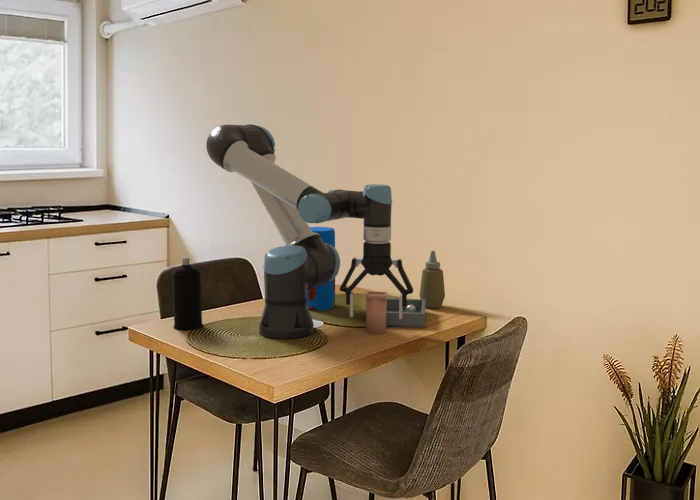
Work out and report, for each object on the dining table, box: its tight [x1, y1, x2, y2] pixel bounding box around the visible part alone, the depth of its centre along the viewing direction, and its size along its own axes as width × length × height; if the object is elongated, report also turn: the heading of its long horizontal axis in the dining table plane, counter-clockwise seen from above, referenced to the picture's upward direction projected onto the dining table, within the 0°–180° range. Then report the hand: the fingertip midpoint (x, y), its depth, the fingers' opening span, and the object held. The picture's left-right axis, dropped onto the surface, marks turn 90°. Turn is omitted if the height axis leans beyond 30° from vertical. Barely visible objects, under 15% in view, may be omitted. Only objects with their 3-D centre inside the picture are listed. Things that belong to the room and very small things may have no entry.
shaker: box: [364, 291, 388, 336], centre depth 200 cm, size 6×6×11 cm
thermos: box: [307, 226, 336, 311], centre depth 228 cm, size 11×11×25 cm
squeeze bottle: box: [419, 250, 446, 310], centre depth 228 cm, size 8×8×18 cm
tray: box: [386, 297, 426, 328], centre depth 215 cm, size 16×18×4 cm
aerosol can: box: [171, 256, 204, 331], centre depth 205 cm, size 8×8×20 cm
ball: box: [406, 304, 416, 313], centre depth 218 cm, size 3×3×3 cm
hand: (376, 317), depth 200 cm, fingers open, 13 cm apart
